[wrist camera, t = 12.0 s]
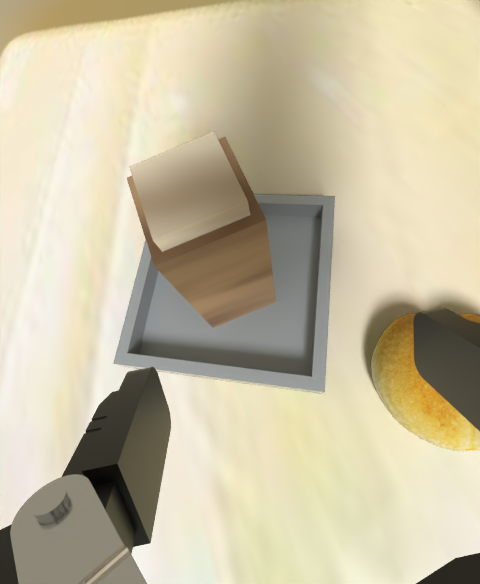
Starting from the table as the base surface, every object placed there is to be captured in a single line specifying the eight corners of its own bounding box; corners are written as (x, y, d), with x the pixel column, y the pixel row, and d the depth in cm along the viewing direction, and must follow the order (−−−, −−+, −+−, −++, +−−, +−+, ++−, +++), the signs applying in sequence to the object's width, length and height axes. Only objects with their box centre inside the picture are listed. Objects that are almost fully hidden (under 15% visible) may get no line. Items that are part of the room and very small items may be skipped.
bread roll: (364, 317, 23) (378, 300, 20) (502, 320, 22) (545, 302, 18) (372, 442, 20) (390, 449, 17) (531, 455, 19) (589, 466, 15)
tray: (169, 208, 29) (158, 191, 26) (330, 215, 26) (334, 196, 24) (130, 367, 24) (113, 363, 22) (320, 393, 22) (324, 391, 19)
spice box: (192, 270, 25) (116, 162, 14) (250, 246, 25) (220, 119, 14) (213, 328, 23) (144, 255, 12) (276, 301, 23) (264, 205, 12)
